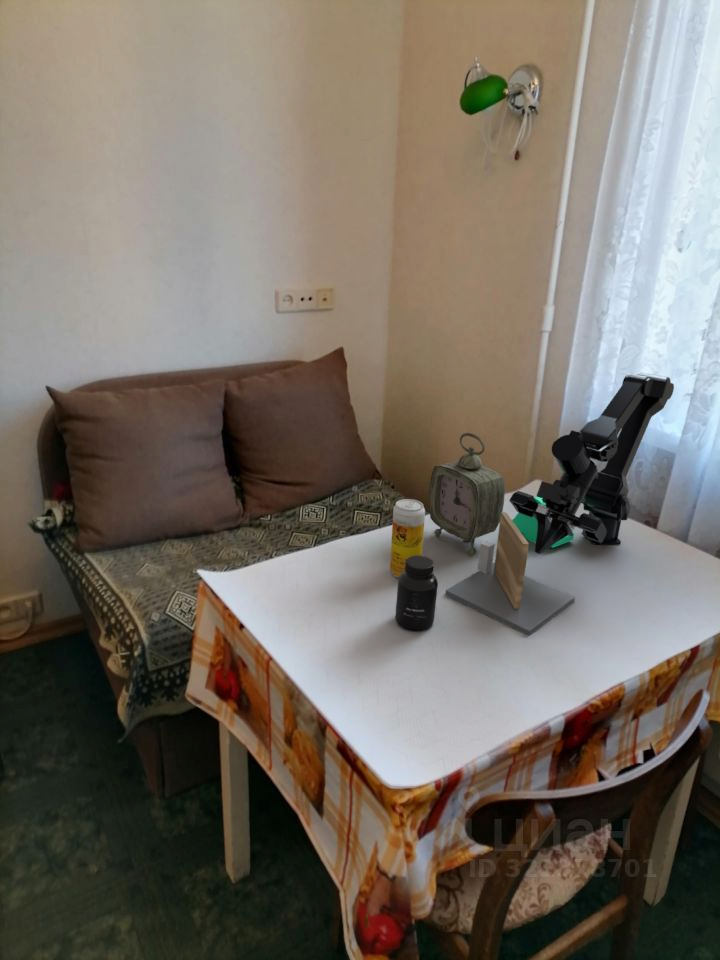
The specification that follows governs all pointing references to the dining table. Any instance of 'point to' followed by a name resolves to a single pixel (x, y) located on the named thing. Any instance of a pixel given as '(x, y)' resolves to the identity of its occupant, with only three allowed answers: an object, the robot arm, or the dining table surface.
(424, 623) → the supplement bottle
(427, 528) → the dining table surface
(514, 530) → the door
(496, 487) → the tabletop clock
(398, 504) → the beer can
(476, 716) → the dining table surface
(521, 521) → the camera mount
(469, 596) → the housing stand
